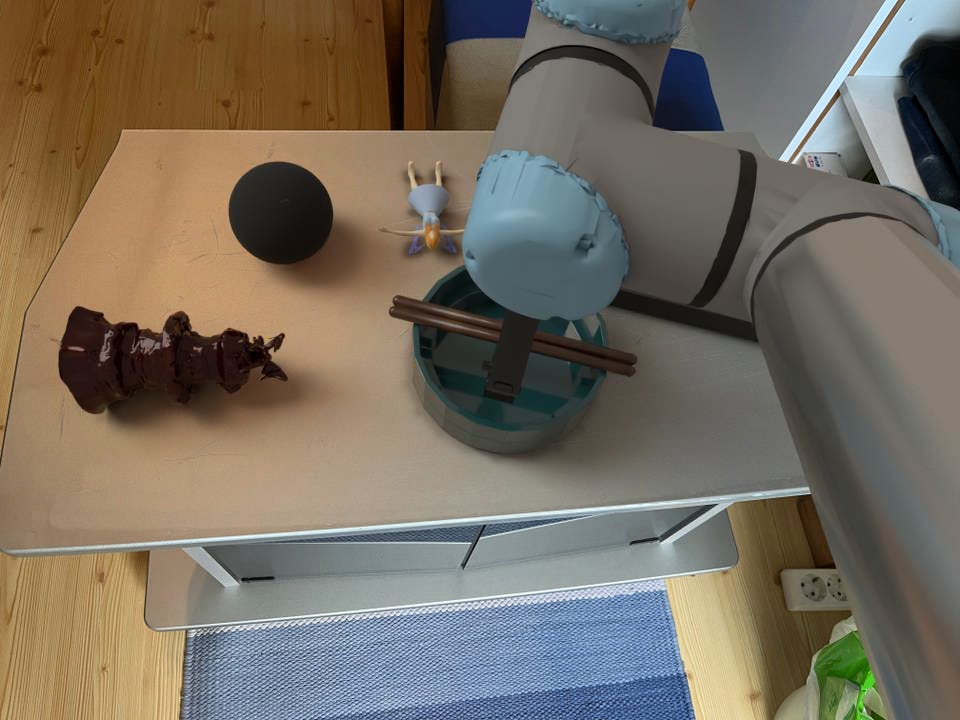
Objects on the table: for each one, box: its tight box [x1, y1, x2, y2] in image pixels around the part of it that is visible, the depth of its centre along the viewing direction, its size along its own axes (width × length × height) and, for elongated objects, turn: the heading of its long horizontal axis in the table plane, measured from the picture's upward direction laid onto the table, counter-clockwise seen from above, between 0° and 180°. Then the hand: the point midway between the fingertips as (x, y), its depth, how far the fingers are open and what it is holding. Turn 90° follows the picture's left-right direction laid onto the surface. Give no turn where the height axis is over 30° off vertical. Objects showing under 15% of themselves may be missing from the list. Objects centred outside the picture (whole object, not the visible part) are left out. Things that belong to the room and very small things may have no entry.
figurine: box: [57, 305, 289, 415], centre depth 67 cm, size 10×10×18 cm
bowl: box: [410, 263, 611, 454], centre depth 71 cm, size 18×18×6 cm
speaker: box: [227, 160, 334, 266], centre depth 73 cm, size 10×10×10 cm
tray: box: [608, 287, 759, 343], centre depth 79 cm, size 11×26×3 cm, turn 77°
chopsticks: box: [388, 294, 638, 378], centre depth 68 cm, size 23×2×1 cm, turn 77°
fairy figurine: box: [375, 160, 465, 255], centre depth 80 cm, size 12×5×12 cm
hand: (514, 330), depth 67 cm, fingers open, 13 cm apart
